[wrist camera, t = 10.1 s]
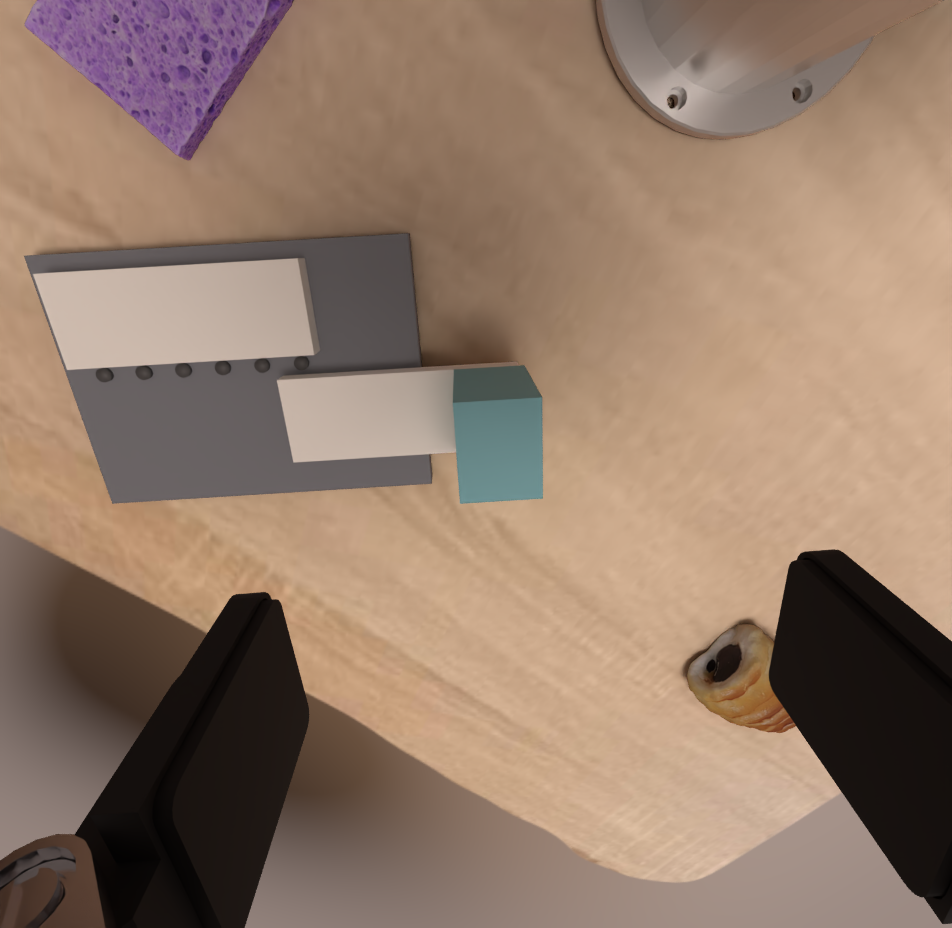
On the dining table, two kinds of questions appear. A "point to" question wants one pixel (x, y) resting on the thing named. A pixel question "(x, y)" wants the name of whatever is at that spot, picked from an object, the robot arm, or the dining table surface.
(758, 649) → the pastry
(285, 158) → the dining table surface
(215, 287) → the ticket
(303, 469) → the mat
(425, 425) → the stub
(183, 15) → the sponges
